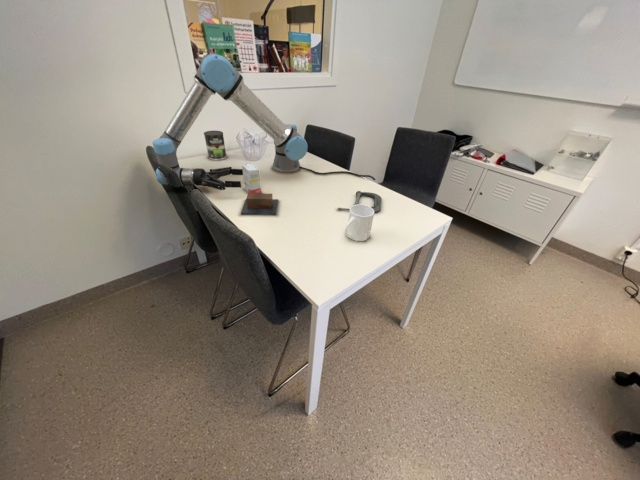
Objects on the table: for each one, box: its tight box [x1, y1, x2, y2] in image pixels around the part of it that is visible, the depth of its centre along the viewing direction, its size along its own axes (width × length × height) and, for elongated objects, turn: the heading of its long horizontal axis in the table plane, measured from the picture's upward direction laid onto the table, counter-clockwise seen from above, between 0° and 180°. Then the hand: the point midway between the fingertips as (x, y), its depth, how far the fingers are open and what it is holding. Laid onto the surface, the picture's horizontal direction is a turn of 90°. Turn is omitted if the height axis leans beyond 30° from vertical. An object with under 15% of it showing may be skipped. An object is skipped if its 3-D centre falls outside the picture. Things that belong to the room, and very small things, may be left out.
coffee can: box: [203, 130, 228, 161], centre depth 153 cm, size 10×10×14 cm
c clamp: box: [337, 190, 382, 214], centre depth 118 cm, size 20×17×3 cm
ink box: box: [241, 163, 262, 193], centre depth 119 cm, size 9×5×12 cm, turn 35°
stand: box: [240, 192, 279, 216], centre depth 109 cm, size 14×12×6 cm
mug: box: [345, 203, 375, 242], centre depth 94 cm, size 9×12×11 cm
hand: (243, 178), depth 119 cm, fingers open, 13 cm apart
